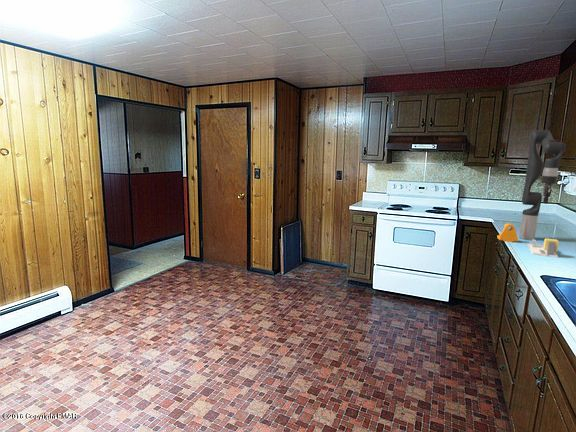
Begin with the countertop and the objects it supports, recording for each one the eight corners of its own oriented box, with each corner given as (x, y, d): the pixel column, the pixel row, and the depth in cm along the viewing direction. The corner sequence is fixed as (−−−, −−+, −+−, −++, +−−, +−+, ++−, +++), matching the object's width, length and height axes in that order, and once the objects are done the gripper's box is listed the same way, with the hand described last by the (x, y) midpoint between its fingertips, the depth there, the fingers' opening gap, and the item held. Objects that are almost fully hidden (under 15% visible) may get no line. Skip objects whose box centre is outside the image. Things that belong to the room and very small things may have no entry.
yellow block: (543, 248, 209) (544, 238, 208) (555, 249, 206) (557, 239, 205) (544, 250, 204) (546, 240, 203) (557, 251, 202) (558, 241, 201)
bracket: (514, 240, 240) (516, 223, 238) (517, 242, 234) (520, 225, 231) (496, 238, 244) (498, 222, 241) (499, 241, 237) (501, 223, 235)
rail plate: (527, 245, 227) (529, 232, 225) (549, 247, 222) (551, 235, 220) (532, 254, 206) (534, 240, 205) (557, 257, 201) (560, 243, 199)
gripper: (559, 176, 204) (554, 205, 207) (555, 175, 215) (550, 202, 219) (544, 175, 207) (539, 204, 211) (540, 174, 219) (536, 201, 222)
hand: (545, 203), depth 215 cm, fingers closed
